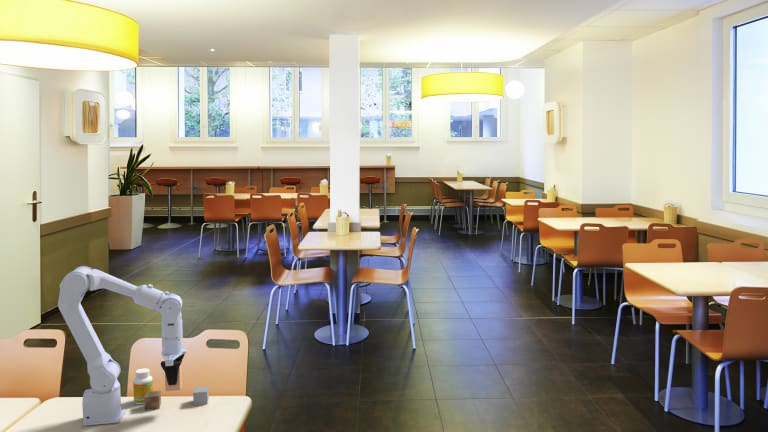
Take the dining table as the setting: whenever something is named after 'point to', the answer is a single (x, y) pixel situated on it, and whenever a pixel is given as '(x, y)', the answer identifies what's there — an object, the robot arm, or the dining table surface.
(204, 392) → the slate block
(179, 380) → the terracotta block
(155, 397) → the walnut block
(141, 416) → the dining table surface
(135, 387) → the supplement bottle
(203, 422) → the dining table surface
